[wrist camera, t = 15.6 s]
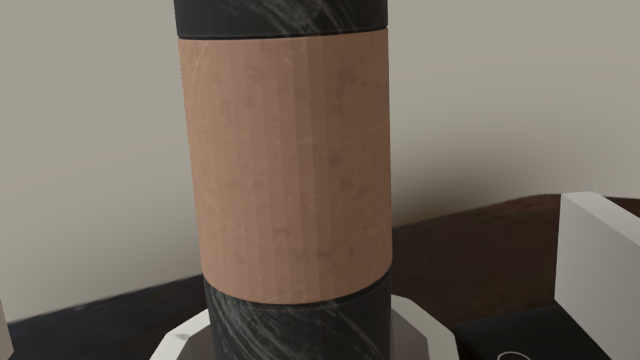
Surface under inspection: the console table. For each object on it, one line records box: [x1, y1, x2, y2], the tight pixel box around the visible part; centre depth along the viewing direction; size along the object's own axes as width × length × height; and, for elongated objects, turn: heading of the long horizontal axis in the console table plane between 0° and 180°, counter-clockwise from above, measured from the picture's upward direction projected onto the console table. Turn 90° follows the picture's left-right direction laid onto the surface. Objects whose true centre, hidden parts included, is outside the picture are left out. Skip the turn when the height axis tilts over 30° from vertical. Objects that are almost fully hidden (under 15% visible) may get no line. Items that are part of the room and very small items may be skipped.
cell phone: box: [457, 304, 612, 360], centre depth 32 cm, size 9×18×1 cm, turn 103°
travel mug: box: [174, 0, 392, 360], centre depth 23 cm, size 8×8×20 cm
